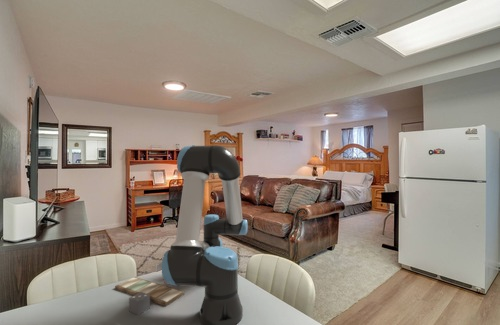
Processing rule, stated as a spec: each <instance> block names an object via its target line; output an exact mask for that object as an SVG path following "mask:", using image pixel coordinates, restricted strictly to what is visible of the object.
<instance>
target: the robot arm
mask: <svg viewBox="0 0 500 325" xmlns="http://www.w3.org/2000/svg"><path fill="white" fill-rule="evenodd" d="M176 164H177V165H176V168H177V170H178V172H179V174H180V177H181V178H182V179H183V184H182V191H181V198H180V208H179V214H178V221H177V229H176V236H175V241H174V242H173V243H171V245H170V248H169V249H168V250H167V251H165V252H164V254H163V256H162V259H161V262H159V263H156V264H155V271H154V272H155V273H158V272H161V274H162V278H163V282H164V281H165V282H166V283H167V284H166V285H169V286H170V285H171V286H176V287H180V286H181V287H199V288H201V287H202V288H204V297H203V301H202V303H201V307H200V310H199V321H200V320H201V321H200V322H201V324H203V325H235V324H236V323H237V324H239V323H240V322H241V320H242V319H243V317H244V316H243V312H244V311H243V310H244V309H243V305H242V303H241V299H240V295H239V292H238V290H239V289H238V282H239V281H238V276H239V274H238V271H239V269H238V268H239V264H238V263H239V262H238V254H237V253H236V252H235V251H234V250H233V249H231V248H229V247H225V246H223V241H222V239H221V238H220V237H219V236H220V235H226V236H228V235H229V236H246V235H247V233H248V230H249V228H248V227H249V226H248V224H249V222H248V220H247V219H243V210H242V209H243V208H242V198H241V189H240V180H239V179H240V177H241V168H240V165H239V164H240V163H239V162H238V160H237V158H236V157H235V155H234V154H233V153H232V151H230V150H229V149H227V147H224V146H222V145H188V146H187V145H186V146H183V148H181V149H180V150H179V153H178V156H177V159H176ZM210 174H217V176H218V178H219V180H220V181H221V187H222V193H223V198H224V200H223V201H224V206H225V213H226V218H220V216H219V215H218V214H215V213H214V214H207V215H205V216H204V217H203V216H202V215H203V206H204V205H203V204H204V196H205V187H206V182H207V181H208V180H209V179H210ZM202 217H203V240H202V241H201V242H200V234H201V225H202ZM239 321H240V322H239ZM237 324H236V325H237Z"/></svg>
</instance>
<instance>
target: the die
mask: <svg viewBox="0 0 500 325" xmlns="http://www.w3.org/2000/svg"><path fill="white" fill-rule="evenodd" d="M128 300H129V302H128V311H129V312H130V313H132V314H135V315H137V316H139V315H141V314H143V313H144V312H146V311H148V310H149V309H150V308H151V301H150V295H149V294H146V293H143V292H140V293H138V294H136V295H132V296H131V297H128Z"/></svg>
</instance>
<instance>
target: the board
mask: <svg viewBox="0 0 500 325" xmlns="http://www.w3.org/2000/svg"><path fill="white" fill-rule="evenodd" d="M114 290H117V291H120V292H123V293H127V294H129V295H132V296H134V295H136V294H138V293H140V292H143V293H146V294H149V295H150V302H152V303H154V304H158V305H161V306H163V307H167V306H169V305H170V304H172V303H174V302H175V301H176V300H178V299H180V298H181V297H183V296H184V295H185V291H184V290H180V289H177V288H174V287H171V286H167V285H164V284H160V283H157V282H154V281H150V280H146V279H143V278H140V277H136V276H135V277H131V278H130V279H128V280H125V281H122V282H121V283H119V284H117V285H115V286H114Z"/></svg>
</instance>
